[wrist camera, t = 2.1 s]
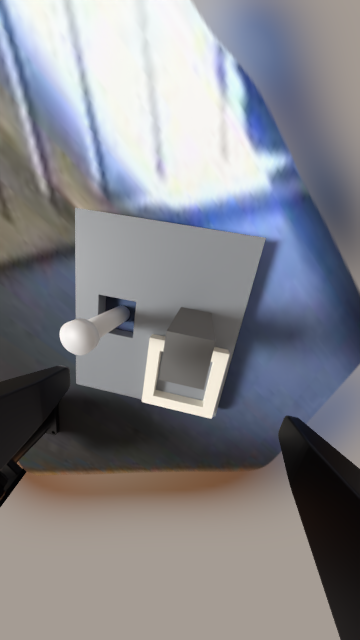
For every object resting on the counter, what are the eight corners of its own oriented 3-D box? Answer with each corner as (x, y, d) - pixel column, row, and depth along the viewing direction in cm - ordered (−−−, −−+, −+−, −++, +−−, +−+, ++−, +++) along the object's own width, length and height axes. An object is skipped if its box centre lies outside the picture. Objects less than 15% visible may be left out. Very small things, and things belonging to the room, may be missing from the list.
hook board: (214, 407, 22) (219, 475, 15) (83, 376, 23) (29, 425, 16) (260, 240, 16) (304, 219, 9) (85, 212, 18) (3, 174, 10)
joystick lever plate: (211, 411, 20) (214, 481, 14) (144, 395, 21) (116, 455, 14) (236, 317, 17) (257, 349, 10) (156, 302, 18) (127, 322, 11)
